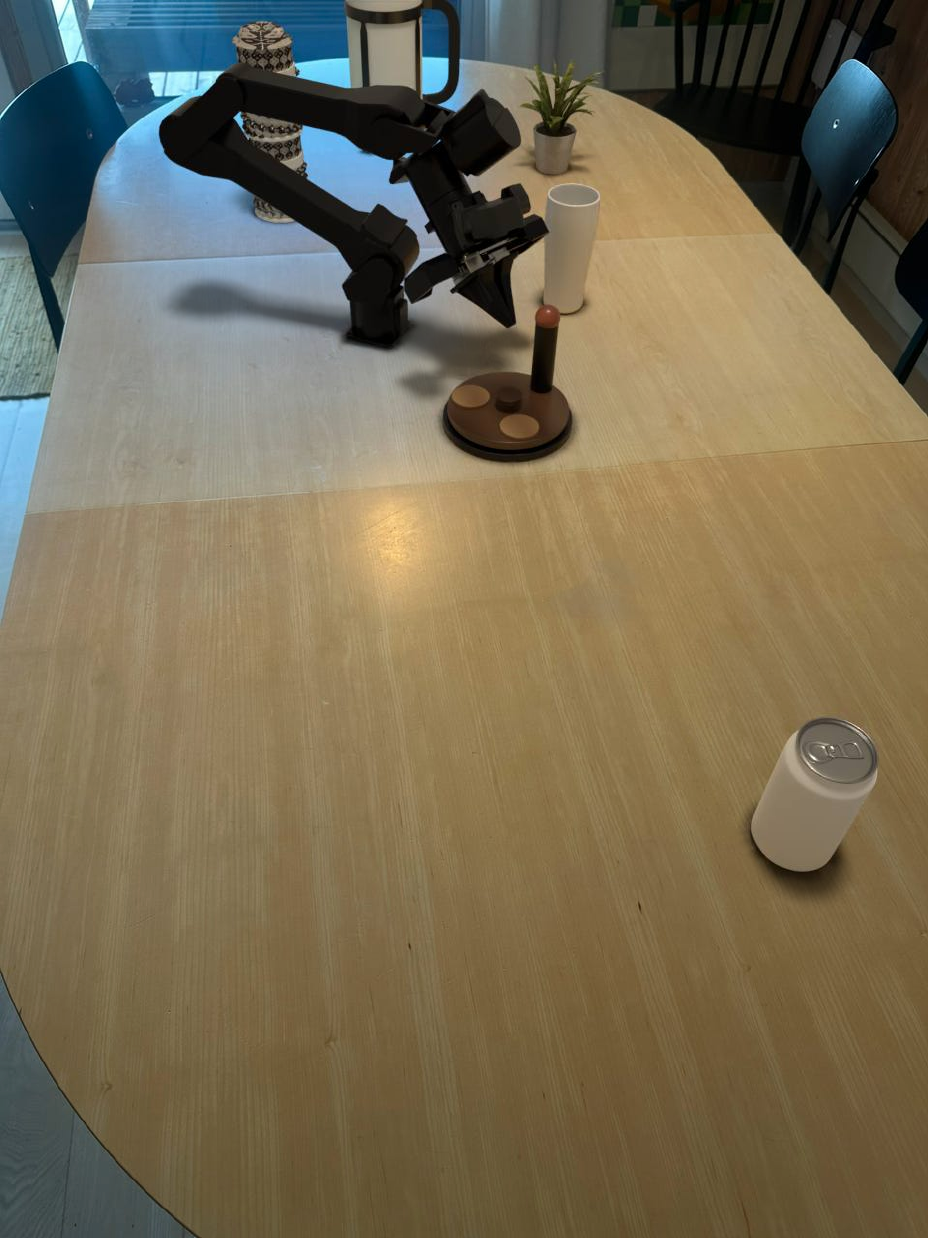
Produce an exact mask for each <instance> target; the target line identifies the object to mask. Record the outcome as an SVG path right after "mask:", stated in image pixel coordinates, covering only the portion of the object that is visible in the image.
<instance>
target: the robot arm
mask: <svg viewBox="0 0 928 1238" xmlns="http://www.w3.org/2000/svg"><path fill="white" fill-rule="evenodd" d="M241 112H246V113H250V114H255V115H259V116H263V117H268V118H272V119H277V120H281V121H285V122H290V123H294V124H299V125H303V127H307V128H312V129H315V130H316V129H317V130H320V131H326V132H329V133H333V134H336V135H339V136H341V137H344V138H345V139H346V140H348V141H349V142H350V143H351V144H353V145H354V147H356V148H358V149H359V150H361V151H362V150H364V151H366V152H365V153H368V152H369V153H368V154H371V155H374V156H376V157H378V158H380V159H384V160H387V161H392V168H391V171H390V174H389V177H388V183H389V184H390V185H398V184H399V185H400V184H406V183H409V184H410V186H411V188H412V190H413V192H414V194H415V196H416V198H417V200H418V202H419V203H420V205H421V208H422V209H423V211H424V213H425V215H426V217H427V220H428V222H427V223H426V224H425V225H423V226H424V229H425V231H426V233H427V234H428V235H430V234H433V233H434V234H435V235H436V237H437V239H438V240H439V242H440V245H441V247H442V248H443V250H444V252H442V253H441V254H438V255H436V256H434V257H432V258H430V259H427V260H425V261H422V262H421V263H420V264H419V265H418V266H417V267H416V268H414V269H413V270H412V268H413V266H414V265H415V264H416V262H417V260H418V259H419V256H420V251H421V249H420V247H421V246H420V242H419V240H418V235H417V233H416V232H415V231H414V229H412V227H410V226H409V225H407V224H408V219H407V218H403V217H400V216H398V215H396V214H394V213H393V212H391V210H389V209H388V208H387V207H386V206H385V205H384V204H383V205H382V204H380V203H376V205H375V206H374V207H373V209H372V210H371V211H362V210H357V209H355V208H354V207H352V206H350V205H348V204H347V203H345V202H344V201H342V200H341V199H339V198H338V197H336V196H334V195H333V194H331V193H330V192H328V191H326V189H324V188H322V187H321V186H319V185H318V184H316V183H315V182H313V181H311V180H310V179H308V178H307V179H306V178H305V177H303V176H302V175H300V174H299V173H297V172H295V171H294V170H292V169H291V168H289V167H288V166H286V165H285V164H283V163H281V162H280V161H278V160H277V159H275V158H274V157H272V156H271V155H269V154H267V153H266V152H264V151H263V150H261V149H260V148H258V147H256V146H255V145H253V144H252V143H251V142H250V141H249V137H247V136H246V135H245V133H244V130H243V128H242V126H241V125H240V124H239V123H238V121H237V120H236V118H235V117H237V115H238V114H239V113H241ZM158 139H159V142H160V145H161V147H162V149H163V154H164V155H165V156H166V157H167V158H168V159H169V160H170V161H171V162H172V163H174V164H175V165H176V166H179V167H181V168H183V169H186V170H188V171H190V172H192V173H195V174H197V175H199V176H202V177H208V178H213V179H215V178H216V179H222V180H227V181H230V182H232V183H234V184H236V185H238V186H239V187H240V188H242V189H244V190H246V191H247V192H248V193H249V194H251V195H252V196H254V195H255V196H256V197H258V198H259V199H261V200H263V201H264V202H266V203H267V204H269V205H271V206H272V207H274V208H275V209H277V210H279V211H280V212H282V213H283V214H285V215H286V216H288V217H290V218H291V219H293V220H294V222H296V223H298V224H299V225H301V226H302V227H304V228H306V229H307V230H308V231H310V232H311V233H312V234H315V235H316V236H318V237H320V238H322V239H323V240H324V241H326V242H328V243H329V244H331V245H332V246H334V247H335V248H336V250H338V253H340V255H341V257H342V258H343V260H344V261H345V263H346V265H347V266H348V268H349V269H350V270H351V272H350V273H349V274H348V276H347V277H346V278H345V280H344V281H343V283H342V284H341V288H342V291H343V293H344V296H345V298H346V300H347V301H349V316H350V328H349V329H348V330H347V332H346V333H345V338H346V339H347V340H348V339H349V340H352V341H356V342H362V343H366V344H368V345H369V344H370V345H374V346H378V347H382V348H387V349H391V348H393V347H394V346H395V344H397V342H398V341H399V340H400V339H401V337H403V335H404V334H405V333H406V332H407V330H408V329H409V327H410V326H411V321H410V320H409V303H410V304H411V305H414V304H416V303H418V302H420V301H423V300H425V299H427V298H430V296H432V294H433V290H434V288H435V286H437V285H438V284H441V283H443V282H446V281H447V280H450V279H452V282H453V284H454V286H453V287H452V288H451V289H449V292H450V294H451V295H454V294H458V295H460V296H461V297H463V298H465V299H466V300H467V301H469V302H471V303H472V304H474V305H475V306H477V307H478V308H479V309H481V310H482V311H484V312H485V313H486V314H487V315H489V316H490V317H491V318H493V319H494V320H495V321H497V322H498V323H499V324H500V325H501V326H503V327H504V328H506V329H510V328H512V327H514V326H515V325H516V324H517V317H516V316H517V315H516V311H515V303H514V295H513V291H512V278H511V276H512V275H511V274H512V272H511V271H512V268H513V265H514V260H516V259H517V258H518V257H519V256H520V255H522V254H524V253H525V252H526V251H528V250H529V249H530V248H532V247H533V246H535V245H537V243H539V242H540V241H542V240H543V239H544V237H545V236H546V235H548V234H549V233H550V232H549V230H548V228H547V226H546V224H545V219H544V218H543V217H542V216H540V215H537V214H535V213H533V214H530V215H527V214H529V213H530V212H531V210H532V205H531V200H530V197H529V195H528V193H527V191H526V190H525V188H524V186H523V185H522V183H521V182H519V183H514V184H513V183H512V184H510V185H508V186H505V187H502V188H501V190H500V197H499V198H495V199H493V200H489V201H488V200H487V198H486V196H485V194H484V193H483V192H481V189H479V190H477V191H472V189H471V187H470V185H469V183H468V181H467V179H466V177H467V178H468V177H469V176H470V175H471V176H473V177H481V176H482V175H483V174H485V173H486V172H487V171H488V170H491V168H492V167H494V166H495V165H497V164H498V163H499V162H500V161H502V160H503V159H505V158H506V157H507V156H509V155H510V154H511V153H512V152H514V151H515V150H517V149H518V148H519V147H520V146H521V144H522V135H521V131H520V127H519V126H518V123H517V121H516V119H515V117H514V115H513V114H512V112H511V111H510V110H509V108H508V107H505V106H504V104H502V103H501V102H499V100H497V99H496V98H494V97H490V96H489V94H488V93H487V91H486V90H485V89H484V88H480V89H479V90H477V92H476V93H474V94H473V95H472V96H471V98H470V99H469V100H468V102H466V103H465V104H464V105H463V106H461V107H460V108H459V109H458V110H457V111H455V110H453V109H449V108H447V107H444V106H442V105H440V104H438V105H436V104H434V103H431V102H428V101H426V100H423V99H421V98H420V96H419V94H418V92H416V91H415V90H414V89H412V88H409V87H407V86H395V85H374V86H368V87H361V88H351V87H343V86H339V85H334V84H329V83H326V82H320V81H318V80H317V81H316V80H311V79H307V78H303V77H298V76H295V77H294V76H290V75H285V74H281V73H276V72H272V71H267V70H263V69H258V68H254V67H252V66H251V65H249V64H247V63H238V62H236V63H234V64H232V65H231V66H229V67H228V68H226V69H225V70H224V71H223V72H221V73H220V74H219V75H218V76H217V77H216V79H215V82H214V83H213V84H212V85H211V86H210V87H209V88H208V89H207V90H206V91H205V92H203V94H202V95H197V96H192V97H190V98H188V99H187V100H185V101H184V102H183V103H182V104H180V105H179V106H178V107H176V108H175V109H174V110H173V111H171V112H170V113H169V114H167V115H166V116H165V117H164V118H163V119H162V120H161V121H160V124H159V126H158ZM364 151H363V152H364ZM407 154H410V155H409V156H407V157H405V155H407ZM524 215H527V216H526V217H524ZM410 271H411V272H410ZM401 284H403V285H401ZM405 296H406V297H407V298H408V299H407V298H405Z"/></svg>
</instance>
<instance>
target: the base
mask: <svg viewBox="0 0 928 1238" xmlns="http://www.w3.org/2000/svg"><path fill="white" fill-rule="evenodd" d="M447 404H448V400H447V401H446V402H445V405H444V407H443V410H442V411H443V413H442V426H443V429H444V432H445V434H446V435H447V437H448V438H449V439H450V441H451V442H452V443H453V444H454V445H455V446H457V447H458V448H459V449H460V450H462V451H463V452H466V453H467V454H470V455H473V456H474V457H477V458H480V459H484V460H488V461H493V462H501V463H522V462H529V461H534V460H538V459H540V458H545V457H546V456H548V455H551V454H552V453H554V452H556V451H557V450H559V449H560V448H562V447H563V445H564V444H565V443H566V442H567V441H568V439H569V438H570V436H571V433H572V430H573V429H572V428H573V421H574V420H573V414H572V410H571V408H570V407H569V419H568V423H567V425H566V427H565V429H564V430H563V431H562V433H561V434H559V435H558V436H557V437H556V438H554V439H553V440H551V441H549V442H548V443H545V444H543V445H540V446H537V447H533V448H528V449H520V450H503V449H495V448H490V447H486V446H482V445H479V444H476V443H474V442H472V441H470V440H468V439H466V438H465V437H463V436H462V435H460V434H459V433H458V432H457V431H456V430H455V429H454V428H453V426H452V425H451V423H450V421H449V418H448V414H447Z"/></svg>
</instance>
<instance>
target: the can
mask: <svg viewBox="0 0 928 1238" xmlns="http://www.w3.org/2000/svg"><path fill="white" fill-rule="evenodd" d="M879 762H880V756H879V750H878V748H877V745H876V743H875V742H874V740H873V738H872V737H870V735H869V734H868V733H867V732H866V731H865V730H864V729H863V728H861V727H859V726H858V725H856V724H855V723H853V722H850V721H849V720H846V719H843V718H839V717H833V716H819V717H815V718H811V719H810V720H808V721H806V722H805V723H803V724H802V725H801V726H800V728H799V729H797V730H796V731H794V732H793V733H792V734H791V736H790V737H789V738H788V740H787V741H786V743H785V745H784V747H783V749H782V751H781V753H780V756H779V757H778V760H777V762H776V764H775V767H774V768H773V770H772V773H771V775H770V777H769V780H768V782H767V784H766V785H765V788H764V790H763V793H762V795H761V797H760V799H759V802H758V804H757V806H756V808H755V811H754V813H753V816H752V820H751V823H750V830H751V835H752V839H753V840H754V842H755V845H756V846H757V848H758V849H759V851H760V852H761V854H763V855H764V856H765V858H767V860H769V861H771V862H772V863H773V864H775V865H777V866H779V867H781V868H783V869H786V870H789V871H793V872H812V871H815V870H818V869H820V868H822V867H823V866H825V865H826V864H827V863H828V862H829V861H830V860H831V859H832V857H833V856H834V854H835V853H836V851H837V849H838V848H839V846H840V844H841V843H842V841H843V840H844V838H845V836H846V834H847V833H848V832H849V829H850V828H851V826H852V824H853V823H854V821H855V820H856V818H857V817H858V815H859V813H860V811H861V809H862V808H863V806H864V804H865V802H866V801H867V799H868V798H869V796H870V794H871V793H872V792H873V791H872V790H873V789H874V787H875V785H876V782H877V778H878V767H879Z"/></svg>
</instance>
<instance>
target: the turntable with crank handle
mask: <svg viewBox="0 0 928 1238" xmlns="http://www.w3.org/2000/svg"><path fill="white" fill-rule="evenodd" d="M534 320H535V325H534V333H533V334H534V336H533V346H532V347H533V348H532V359H531V360H532V361H531V370H530V371H531V373H530V374H528V373H525V372H516V371H493V372H487V373H482V374H479V375H475V376H473V377H470V378H468V379H466V380H464V381H462V382H461V383H460V384H458V385H457V386H456V387H455V388H454V389H453V390H452V392H451V393H450V394H449V397H448V399H447V401H448V404H447V414H448V418H449V421H450V423H451V425H452V426H453V428H454V429H455V430H456V431H457V432H458V433H459V434H460V435H462V436H463V437H465V438H466V439H468V440H470V441H472V442H474V443H476V444H479V445H482V446H486V447H490V448H495V449H503V450H520V449H528V448H533V447H537V446H540V445H543V444H545V443H548V442H549V441H551V440H553V439H554V438H556V437H557V436H558V435H559V434H561V433H562V431H563V430H564V429H565V427H566V425H567V423H568V419H569V408H570V405H569V404H570V403H569V401H568V399H567V397H566V396H565V394H564V393H563V392H562V391H561V390H560V389H559V388H558V387H557V386H555V385H554V377H555V376H554V374H555V364H556V355H557V346H558V337H559V336H558V335H559V325H560V321H561V313H559V311H558V309H557V308H556V307H555V306H553V305H545V304H543V305H541V306H540V307H539V308H538V309H537V310H536V312H535V315H534Z"/></svg>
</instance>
